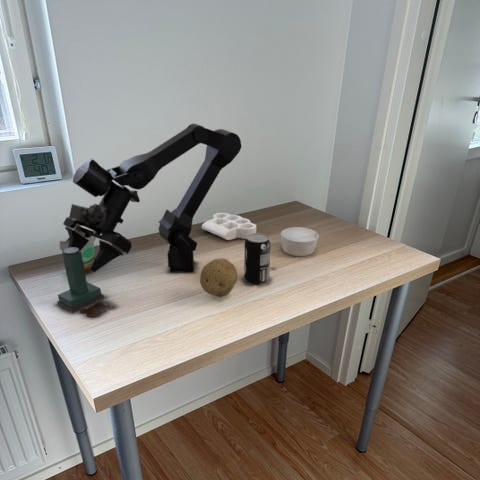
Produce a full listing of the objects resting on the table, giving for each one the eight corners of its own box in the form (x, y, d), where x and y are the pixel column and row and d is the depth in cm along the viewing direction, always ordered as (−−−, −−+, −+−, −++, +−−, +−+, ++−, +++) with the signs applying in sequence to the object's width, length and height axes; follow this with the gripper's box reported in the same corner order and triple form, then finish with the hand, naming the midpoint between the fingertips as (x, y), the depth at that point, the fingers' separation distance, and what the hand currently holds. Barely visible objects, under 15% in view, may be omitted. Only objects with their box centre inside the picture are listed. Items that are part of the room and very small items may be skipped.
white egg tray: (195, 229, 153) (229, 219, 162) (231, 245, 142) (265, 233, 150) (195, 219, 152) (229, 209, 160) (231, 234, 140) (266, 223, 149)
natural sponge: (223, 310, 110) (223, 271, 104) (193, 299, 114) (191, 262, 108) (243, 294, 116) (244, 257, 111) (214, 285, 120) (213, 249, 115)
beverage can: (243, 274, 126) (243, 232, 119) (267, 274, 126) (269, 232, 120) (245, 286, 120) (246, 242, 114) (270, 285, 121) (272, 241, 114)
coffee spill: (102, 299, 113) (102, 299, 113) (117, 306, 111) (117, 306, 111) (77, 311, 109) (77, 311, 108) (92, 319, 106) (92, 319, 106)
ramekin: (313, 260, 134) (314, 243, 131) (275, 255, 137) (276, 238, 134) (320, 246, 143) (322, 229, 140) (284, 241, 146) (285, 225, 143)
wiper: (88, 290, 117) (79, 240, 110) (104, 298, 114) (95, 247, 107) (57, 304, 111) (45, 252, 104) (73, 313, 108) (61, 260, 101)
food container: (87, 279, 122) (80, 244, 117) (65, 277, 123) (58, 241, 118) (107, 260, 133) (102, 226, 127) (87, 258, 134) (81, 224, 128)
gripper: (62, 182, 108) (29, 240, 107) (114, 198, 99) (79, 262, 97) (95, 206, 118) (65, 260, 116) (146, 223, 108) (114, 282, 107)
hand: (79, 266), depth 109 cm, fingers open, 9 cm apart
